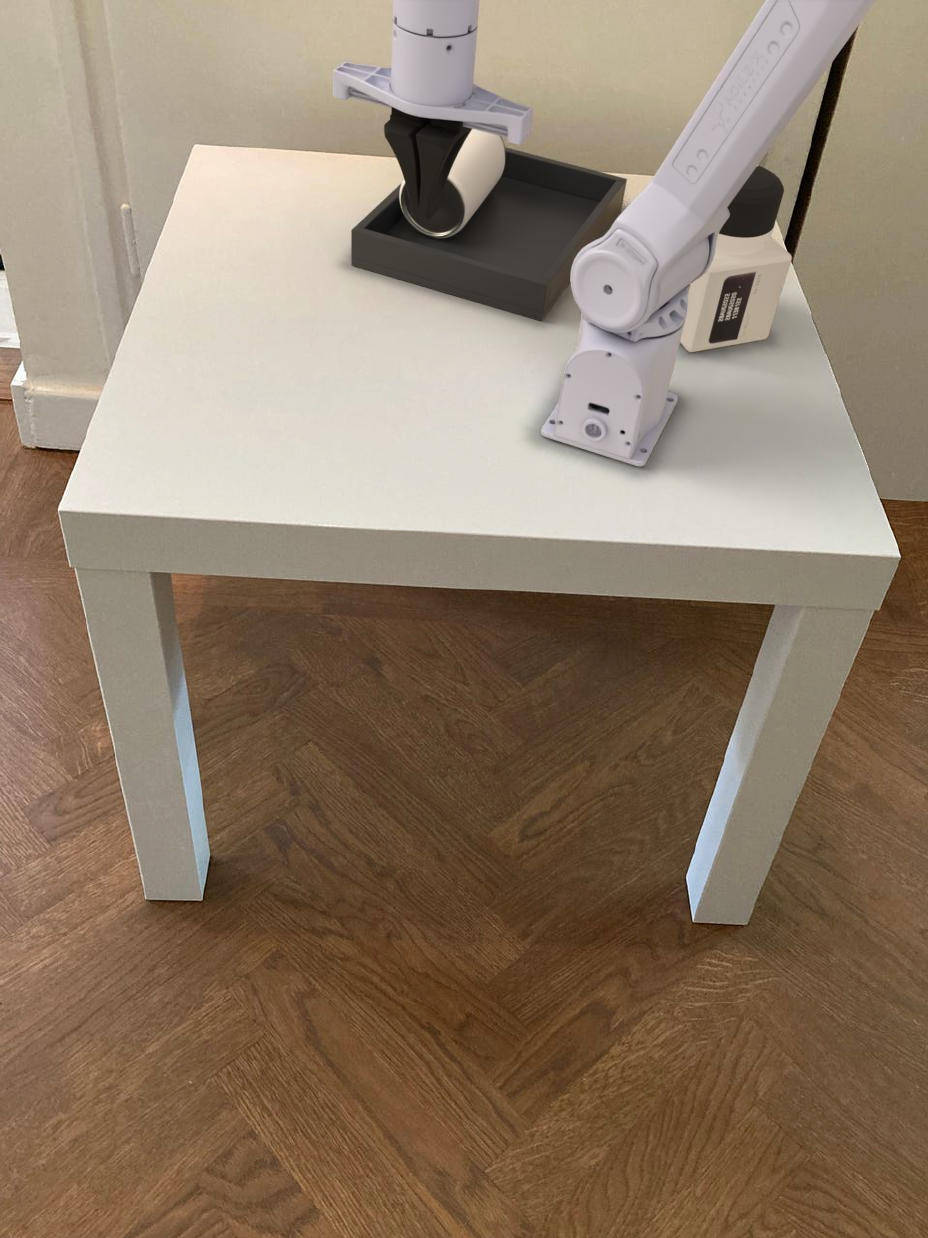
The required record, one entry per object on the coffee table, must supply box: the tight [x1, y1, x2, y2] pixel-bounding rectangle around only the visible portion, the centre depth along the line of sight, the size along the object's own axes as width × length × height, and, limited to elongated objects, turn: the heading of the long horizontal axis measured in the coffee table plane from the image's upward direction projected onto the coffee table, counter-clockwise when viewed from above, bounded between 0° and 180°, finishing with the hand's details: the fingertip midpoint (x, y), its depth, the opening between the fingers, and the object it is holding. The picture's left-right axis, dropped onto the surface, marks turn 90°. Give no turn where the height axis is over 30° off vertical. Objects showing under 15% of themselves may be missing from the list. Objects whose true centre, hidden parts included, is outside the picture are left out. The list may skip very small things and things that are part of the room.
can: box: [399, 129, 507, 238], centre depth 103 cm, size 6×6×12 cm
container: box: [680, 164, 793, 353], centre depth 92 cm, size 8×8×13 cm
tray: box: [350, 147, 628, 322], centre depth 103 cm, size 22×18×3 cm
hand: (425, 212), depth 87 cm, fingers closed
